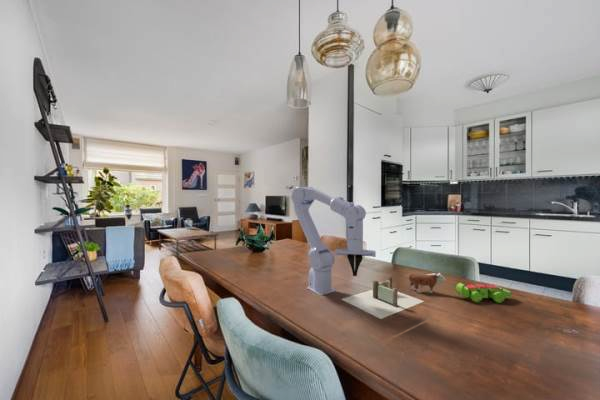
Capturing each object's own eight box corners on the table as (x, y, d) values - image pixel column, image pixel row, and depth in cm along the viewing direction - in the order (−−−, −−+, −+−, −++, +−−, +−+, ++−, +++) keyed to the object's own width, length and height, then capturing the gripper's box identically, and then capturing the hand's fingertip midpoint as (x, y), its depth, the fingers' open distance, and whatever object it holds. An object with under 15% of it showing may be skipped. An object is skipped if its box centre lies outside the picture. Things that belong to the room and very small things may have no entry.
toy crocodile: (502, 296, 98) (503, 280, 98) (517, 303, 91) (517, 286, 91) (451, 295, 98) (451, 279, 98) (461, 302, 92) (461, 286, 92)
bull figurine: (446, 295, 98) (447, 274, 97) (409, 293, 100) (410, 272, 100) (442, 291, 102) (443, 271, 102) (407, 289, 105) (407, 269, 104)
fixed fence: (376, 298, 93) (376, 282, 93) (371, 297, 95) (371, 281, 95) (393, 293, 99) (393, 278, 99) (389, 291, 101) (389, 276, 101)
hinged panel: (377, 298, 93) (377, 283, 93) (380, 297, 94) (380, 282, 94) (395, 305, 87) (395, 289, 87) (398, 304, 88) (398, 288, 88)
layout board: (340, 300, 93) (341, 299, 93) (383, 287, 106) (383, 286, 106) (380, 320, 78) (380, 318, 78) (424, 302, 91) (424, 301, 91)
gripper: (374, 237, 95) (374, 273, 95) (335, 236, 98) (335, 270, 98) (376, 240, 88) (376, 279, 89) (334, 239, 91) (334, 276, 91)
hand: (354, 275), depth 93 cm, fingers closed
